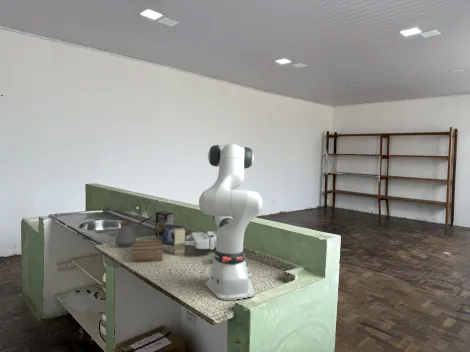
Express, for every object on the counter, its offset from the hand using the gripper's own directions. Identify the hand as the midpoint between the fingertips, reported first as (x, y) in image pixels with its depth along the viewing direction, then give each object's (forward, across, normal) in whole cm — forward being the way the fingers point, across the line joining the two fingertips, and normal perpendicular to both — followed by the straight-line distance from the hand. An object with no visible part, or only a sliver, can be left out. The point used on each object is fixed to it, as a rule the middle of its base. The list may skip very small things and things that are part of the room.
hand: (184, 240), depth 172 cm
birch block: (+3, 0, +7) cm, 7 cm away
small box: (+5, -19, +7) cm, 21 cm away
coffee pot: (+26, -22, +7) cm, 35 cm away
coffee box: (+9, -32, +7) cm, 34 cm away
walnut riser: (+19, 0, +7) cm, 20 cm away
